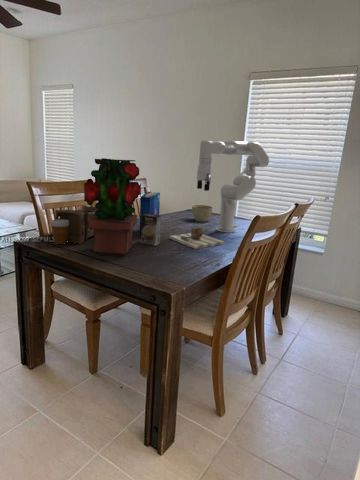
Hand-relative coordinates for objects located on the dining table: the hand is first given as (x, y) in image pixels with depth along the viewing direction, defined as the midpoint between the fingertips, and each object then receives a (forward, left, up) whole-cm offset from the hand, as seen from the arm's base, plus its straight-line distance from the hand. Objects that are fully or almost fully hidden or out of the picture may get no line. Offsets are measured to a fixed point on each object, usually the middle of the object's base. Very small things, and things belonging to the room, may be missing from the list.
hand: (202, 189), depth 207 cm
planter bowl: (-29, -31, -28) cm, 51 cm away
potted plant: (+67, +11, -28) cm, 74 cm away
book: (+30, -14, -28) cm, 44 cm away
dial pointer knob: (+18, +13, -26) cm, 34 cm away
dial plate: (+15, +14, -28) cm, 35 cm away
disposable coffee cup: (+85, -15, -28) cm, 90 cm away
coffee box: (+42, +6, -28) cm, 51 cm away
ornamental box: (+66, -24, -29) cm, 76 cm away
